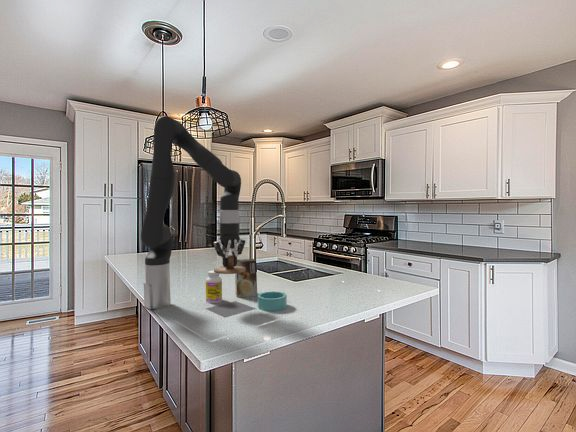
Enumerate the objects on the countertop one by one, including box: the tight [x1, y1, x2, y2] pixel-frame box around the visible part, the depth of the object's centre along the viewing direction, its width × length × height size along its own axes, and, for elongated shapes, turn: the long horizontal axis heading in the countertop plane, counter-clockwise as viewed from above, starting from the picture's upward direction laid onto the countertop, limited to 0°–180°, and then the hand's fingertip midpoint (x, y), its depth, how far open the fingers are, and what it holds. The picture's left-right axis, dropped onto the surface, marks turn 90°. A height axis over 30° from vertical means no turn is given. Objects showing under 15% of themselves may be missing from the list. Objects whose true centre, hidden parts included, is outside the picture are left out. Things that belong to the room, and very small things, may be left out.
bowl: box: [257, 290, 288, 312], centre depth 128 cm, size 11×11×5 cm
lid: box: [213, 254, 246, 275], centre depth 126 cm, size 12×12×6 cm
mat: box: [204, 300, 256, 318], centre depth 126 cm, size 14×14×1 cm
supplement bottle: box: [205, 269, 223, 304], centre depth 137 cm, size 7×7×13 cm
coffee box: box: [234, 258, 258, 298], centre depth 146 cm, size 9×6×16 cm
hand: (230, 266), depth 126 cm, fingers closed on lid, 3 cm apart
